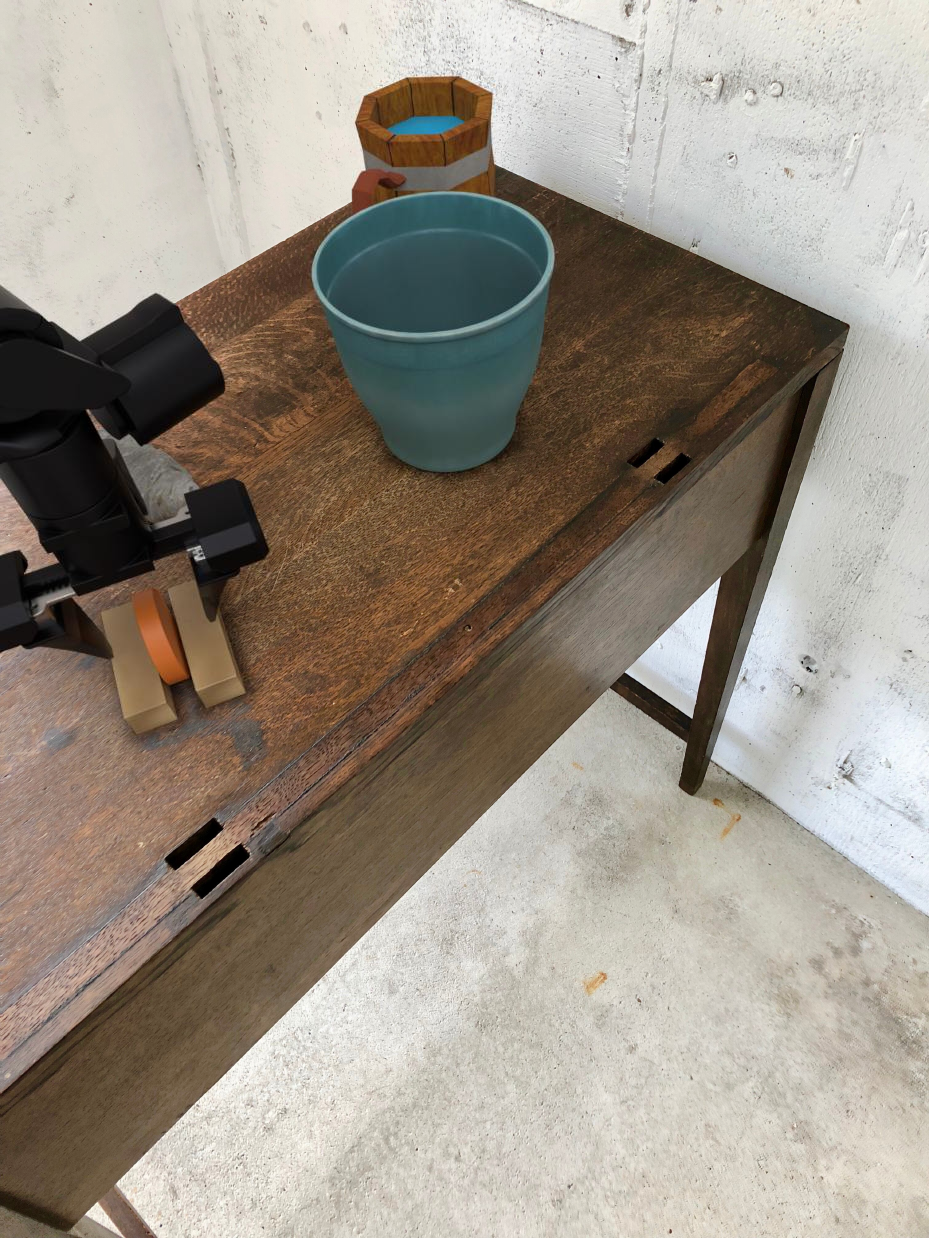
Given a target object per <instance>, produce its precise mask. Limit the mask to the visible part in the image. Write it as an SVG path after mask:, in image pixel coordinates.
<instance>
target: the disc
mask: <svg viewBox="0 0 929 1238" xmlns="http://www.w3.org/2000/svg"><path fill="white" fill-rule="evenodd" d="M131 602H132V603H133V609H134V613H135V617H136V620H137V624H138V627H139V630H140V632H141V635H142V638H143V640H144V643H145V645H146V648H147V650H148V652H149V655H150V657H151V659H152V661H153V663H154V665H155V667H156V669H157V670H158V672H159V674H160V675H161V677H162V678H163V680H164V681H165V682H166V683H167V684H168V685H169V686H172V685H175V684H177V683H179V682H182V681H185V680H188V679H190V678H191V677H192V676H191V672H190V669H189V665H188V661H187V658H186V654H185V651H184V647H183V644H182V640H181V637H180V633H179V629H178V626H177V623H176V621H175V620H174V617H173V615H172V613H171V611H170V609H169V607H168V605H167V603H166V601H165V599H164V597H163V595H162V594H161V593H160V592H159V590H158V589H157V588H156V587H150V588H148V589H145V590H142V591H139V592H136V593H133V594H132V596H131Z"/></svg>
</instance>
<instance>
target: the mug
mask: <svg viewBox="0 0 929 1238" xmlns="http://www.w3.org/2000/svg"><path fill="white" fill-rule="evenodd" d="M493 97H494V94H493V92H491V91H489V90H487V89H485V88H483V87H482V86H479V85H478V84H476V83H474V82H472V81H470V80H467V79H465V78H463V77H462V76H459V75H451V76H450V75H449V76H446V75H445V76H410V77H409V76H407V77H404V78H402V79H399V80H397V81H395V82H393V83H390V84H388V85H386V86H384V87H381V88H379V89H377V90H374V91H372V92H370V93H367V94H365V95H363V98H362V101H361V104H360V107H359V110H358V112H357V115H356V118H355V120H354V125H355V128H356V131H357V135H358V140H359V142H360V146H361V150H362V157H363V161H364V162H363V163H364V169H365V170H362V171H360V173H359V174H358V176H357V178H356V180H355V182H354V185H353V187H352V188H351V212H352V213H351V214H352V215H351V216H353V215H355V214H356V213H358V212H360V211H362V210H364V209H366V208H369V207H371V206H373V205H376V204H378V203H381V202H384V201H387V200H390V199H394V198H397V197H401V196H406V195H412V194H418V193H426V192H439V191H455V192H468V193H476V194H481V195H486V196H490V197H494V198H495V188H496V167H495V158H494V157H495V156H494V149H493V137H492V134H493V133H492V111H493Z"/></svg>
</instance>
